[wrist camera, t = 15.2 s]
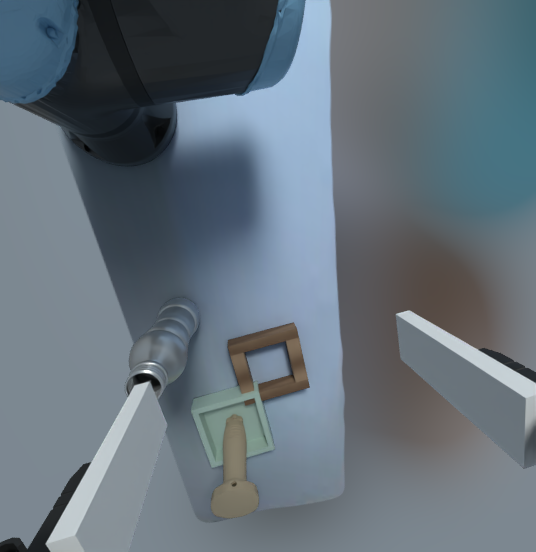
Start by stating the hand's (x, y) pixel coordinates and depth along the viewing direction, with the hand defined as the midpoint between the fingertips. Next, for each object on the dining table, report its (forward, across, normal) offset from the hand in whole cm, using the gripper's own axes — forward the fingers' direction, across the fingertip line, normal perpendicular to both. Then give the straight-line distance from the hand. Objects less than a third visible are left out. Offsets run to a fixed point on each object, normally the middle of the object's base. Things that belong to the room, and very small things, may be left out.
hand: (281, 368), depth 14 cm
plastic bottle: (+32, -13, -6) cm, 35 cm away
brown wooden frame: (+32, -1, -19) cm, 37 cm away
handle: (+31, -10, -29) cm, 44 cm away
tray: (+32, -10, -29) cm, 44 cm away
